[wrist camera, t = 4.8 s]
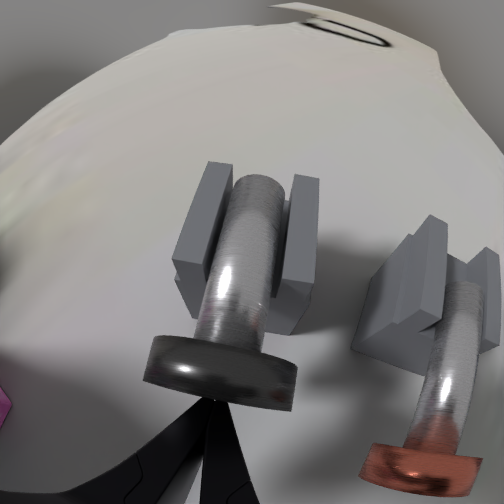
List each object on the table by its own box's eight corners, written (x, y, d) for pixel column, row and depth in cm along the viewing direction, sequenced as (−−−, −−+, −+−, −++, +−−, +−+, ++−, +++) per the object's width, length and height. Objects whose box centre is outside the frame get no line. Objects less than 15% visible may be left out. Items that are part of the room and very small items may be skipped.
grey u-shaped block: (288, 335, 17) (322, 284, 10) (192, 318, 17) (164, 257, 11) (298, 258, 20) (325, 179, 13) (212, 243, 20) (202, 160, 13)
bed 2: (423, 375, 15) (502, 346, 9) (350, 348, 17) (414, 306, 10) (436, 306, 18) (502, 257, 12) (371, 277, 19) (425, 211, 13)
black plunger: (279, 410, 11) (307, 412, 6) (163, 387, 11) (118, 372, 7) (302, 232, 15) (324, 163, 11) (210, 217, 15) (202, 144, 11)
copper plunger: (423, 482, 8) (491, 495, 4) (340, 468, 9) (397, 493, 5) (465, 327, 13) (524, 290, 8) (399, 297, 13) (453, 247, 9)
